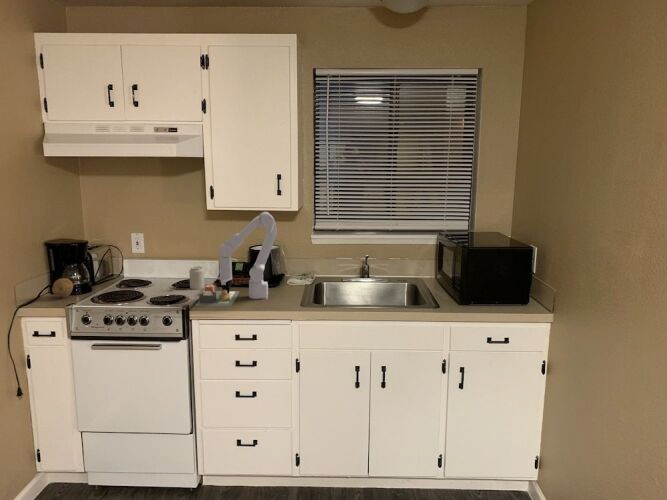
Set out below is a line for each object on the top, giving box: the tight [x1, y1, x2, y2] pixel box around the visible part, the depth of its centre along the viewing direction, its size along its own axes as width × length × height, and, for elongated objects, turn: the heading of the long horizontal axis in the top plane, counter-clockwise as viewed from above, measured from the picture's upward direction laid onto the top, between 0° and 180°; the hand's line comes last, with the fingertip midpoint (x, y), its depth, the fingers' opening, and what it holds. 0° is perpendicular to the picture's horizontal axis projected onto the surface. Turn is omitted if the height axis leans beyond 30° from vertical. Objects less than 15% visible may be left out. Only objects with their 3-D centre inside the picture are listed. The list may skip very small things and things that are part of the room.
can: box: [188, 266, 205, 290], centre depth 252 cm, size 8×8×12 cm
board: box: [194, 290, 240, 307], centre depth 233 cm, size 17×26×4 cm, turn 2°
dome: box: [203, 290, 213, 296], centre depth 227 cm, size 5×5×5 cm
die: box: [204, 284, 215, 292], centre depth 240 cm, size 4×4×4 cm
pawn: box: [219, 289, 230, 302], centre depth 229 cm, size 5×5×5 cm
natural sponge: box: [51, 277, 74, 299], centre depth 231 cm, size 9×9×10 cm
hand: (226, 295), depth 233 cm, fingers closed
